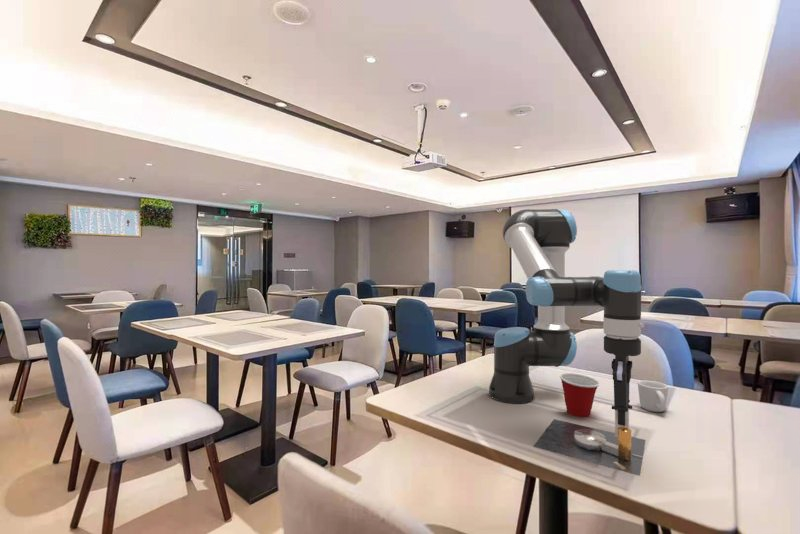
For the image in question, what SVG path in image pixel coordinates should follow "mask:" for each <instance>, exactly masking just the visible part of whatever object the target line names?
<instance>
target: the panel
mask: <svg viewBox="0 0 800 534" xmlns="http://www.w3.org/2000/svg"><path fill="white" fill-rule="evenodd" d="M578 429H588V430H593V431H597V432H599V433H601V434H603V435H604V436H605V437H606V441H607V442H610V443H612V444H615V445H618V437H615V432H613V431H612V432H611V431H607V430H603V429H599V428H594V427H590V426H586V425H581V424H577V423H572V422H567V421H565V420H559V419H553V420H552V421H551V422H550V424H549V425H548V426H547V428H546V429H545V430H544V432H543V433H542V434H541V436H539V438H538V440H537V441H536V442H535V443H534V445H533V447H534V448H537V449H541V450H544V451H548V452H552V453H555V454H559V455H563V456H567V457H570V458H574V459H576V460H577V459H578V460H581V461H585V462H589V463H592V464H596V465H599V466H603V467H607V468H610V469H613V470H616V471H621V472H624V473H627V474H633V475H634V476H641V472H642V465H643V458H644V454H645V453H644V452H645V446H646V439H644V438H639V437H634V436H631V459H629V460H627V459H622V458H620V457H619V456H617V455H614V454H611V453H609V452H606V451H604V450H589V449H585V448H582V447H580V446H578V445H577V444H576V443H575V442H574V431H576V430H578Z"/></svg>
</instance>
